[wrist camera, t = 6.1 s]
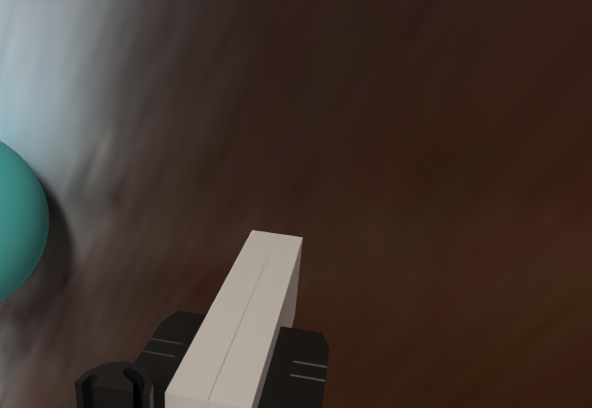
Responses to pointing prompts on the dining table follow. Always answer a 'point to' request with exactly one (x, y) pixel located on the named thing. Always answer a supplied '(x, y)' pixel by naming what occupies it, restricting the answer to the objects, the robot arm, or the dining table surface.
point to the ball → (20, 221)
